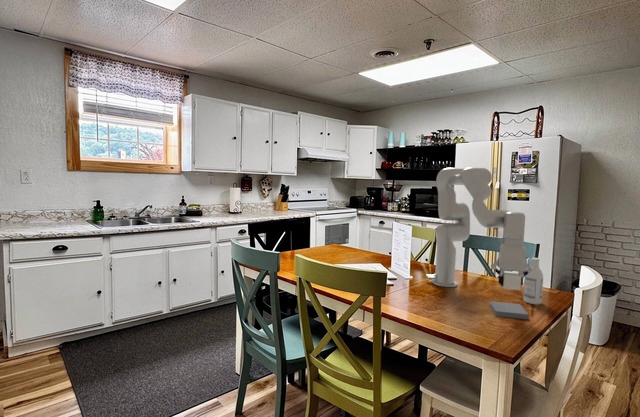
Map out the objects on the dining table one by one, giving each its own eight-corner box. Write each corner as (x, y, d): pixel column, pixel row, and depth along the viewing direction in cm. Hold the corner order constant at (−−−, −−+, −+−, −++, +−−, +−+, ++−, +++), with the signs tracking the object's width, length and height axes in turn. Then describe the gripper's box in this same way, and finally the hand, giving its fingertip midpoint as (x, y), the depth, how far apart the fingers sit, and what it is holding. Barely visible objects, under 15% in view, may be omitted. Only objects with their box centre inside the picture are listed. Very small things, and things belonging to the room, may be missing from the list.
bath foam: (535, 299, 164) (538, 256, 162) (544, 305, 157) (548, 260, 155) (520, 299, 164) (523, 256, 162) (528, 304, 157) (532, 260, 155)
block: (504, 288, 144) (504, 274, 144) (500, 284, 150) (501, 270, 150) (520, 290, 143) (521, 275, 142) (516, 286, 149) (517, 272, 148)
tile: (495, 315, 143) (495, 311, 143) (489, 305, 155) (489, 301, 155) (528, 319, 140) (529, 314, 140) (519, 308, 152) (520, 304, 152)
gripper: (491, 242, 143) (489, 286, 145) (539, 245, 139) (536, 290, 141) (488, 239, 151) (485, 281, 152) (533, 242, 146) (530, 285, 148)
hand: (510, 285), depth 146 cm, fingers closed on block, 6 cm apart
